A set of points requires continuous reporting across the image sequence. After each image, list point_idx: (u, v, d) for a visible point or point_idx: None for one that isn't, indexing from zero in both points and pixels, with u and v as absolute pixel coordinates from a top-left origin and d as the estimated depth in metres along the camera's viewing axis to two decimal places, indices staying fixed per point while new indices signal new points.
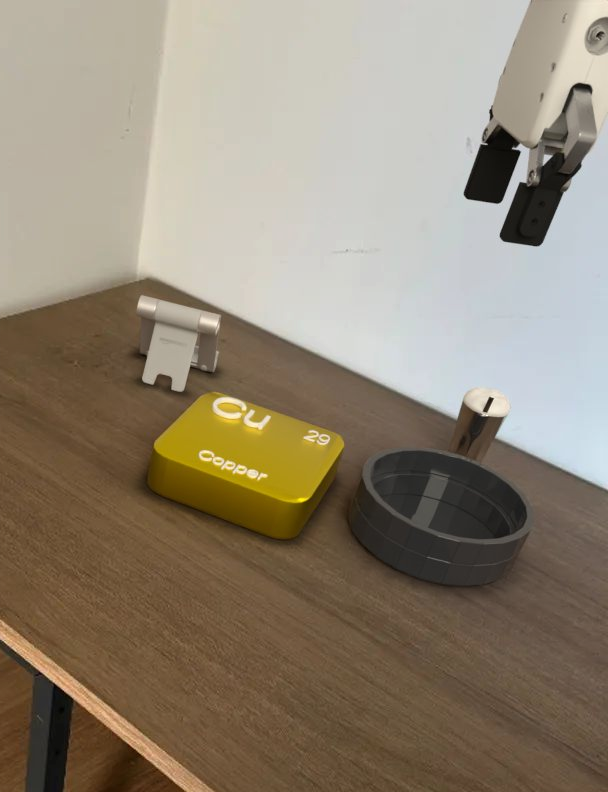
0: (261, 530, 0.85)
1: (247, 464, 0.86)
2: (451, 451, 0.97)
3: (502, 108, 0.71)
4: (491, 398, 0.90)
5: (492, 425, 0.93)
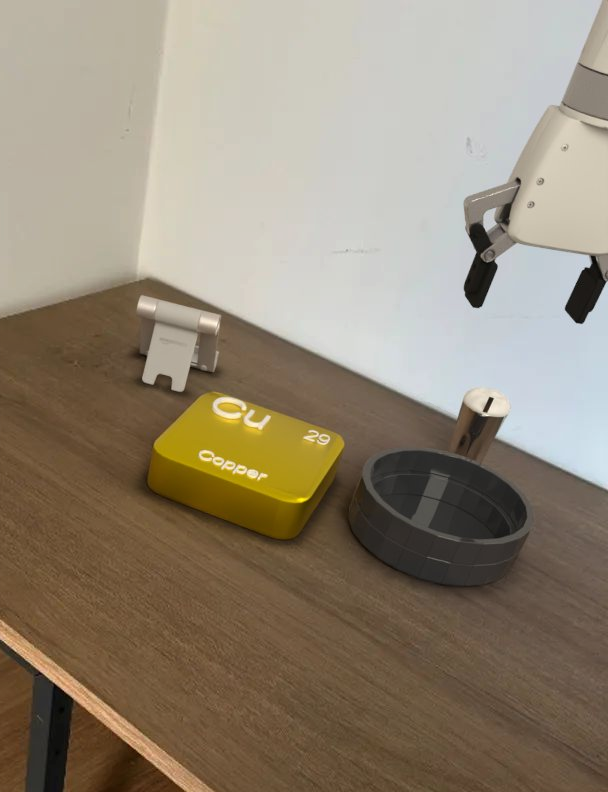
0: (261, 530, 0.85)
1: (247, 464, 0.86)
2: (451, 451, 0.97)
3: (545, 234, 0.80)
4: (491, 398, 0.90)
5: (492, 425, 0.93)
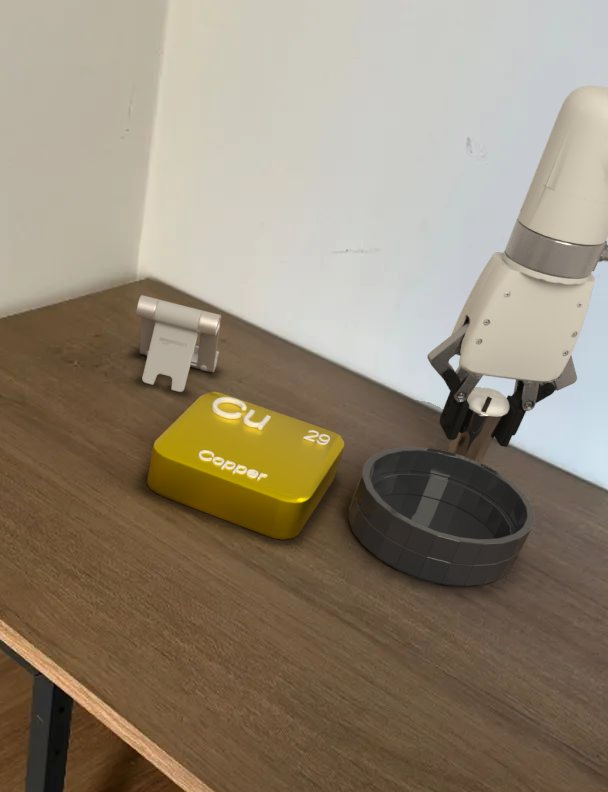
0: (261, 530, 0.85)
1: (247, 464, 0.86)
2: (451, 451, 0.97)
3: (493, 365, 0.88)
4: (489, 398, 0.90)
5: (491, 425, 0.93)
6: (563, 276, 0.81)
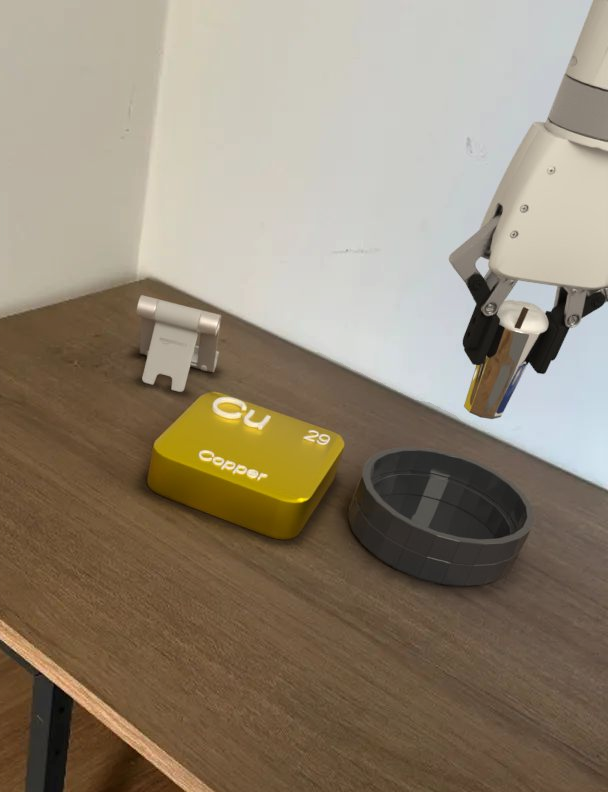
0: (261, 530, 0.85)
1: (247, 464, 0.86)
2: (475, 381, 0.80)
3: (531, 267, 0.71)
4: (525, 309, 0.73)
5: (526, 345, 0.76)
6: None
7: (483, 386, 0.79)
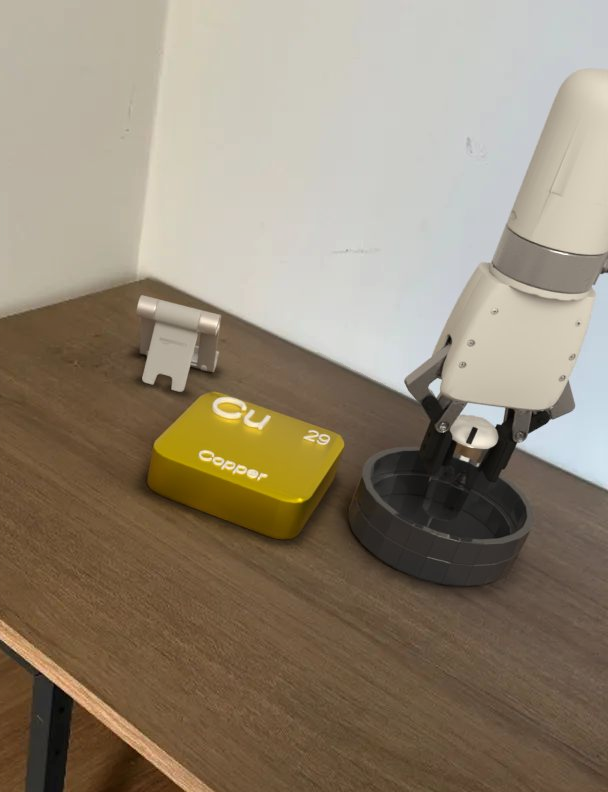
0: (261, 530, 0.85)
1: (247, 464, 0.86)
2: (432, 486, 0.85)
3: (479, 392, 0.77)
4: (475, 428, 0.79)
5: (477, 458, 0.81)
6: (559, 291, 0.70)
7: (439, 492, 0.85)
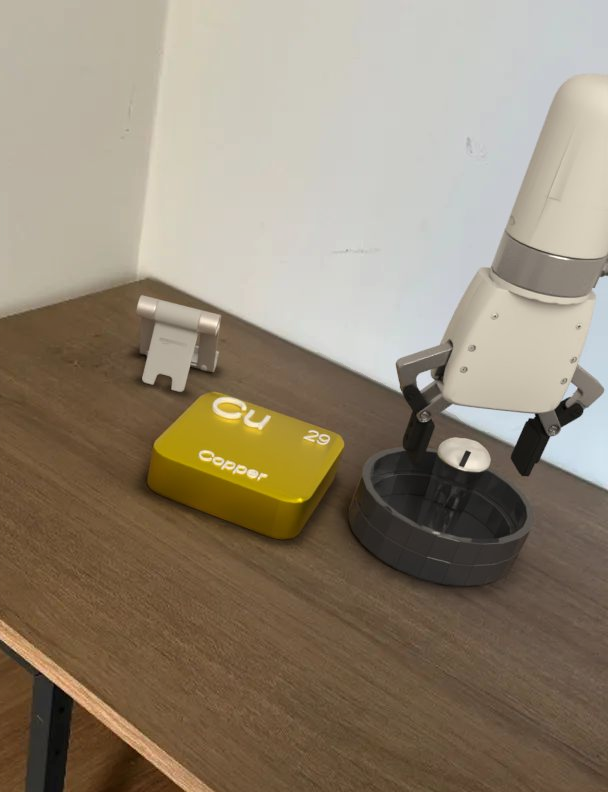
0: (261, 530, 0.85)
1: (247, 464, 0.86)
2: (425, 507, 0.87)
3: (481, 396, 0.77)
4: (468, 452, 0.80)
5: (470, 480, 0.83)
6: (559, 295, 0.70)
7: (432, 513, 0.86)
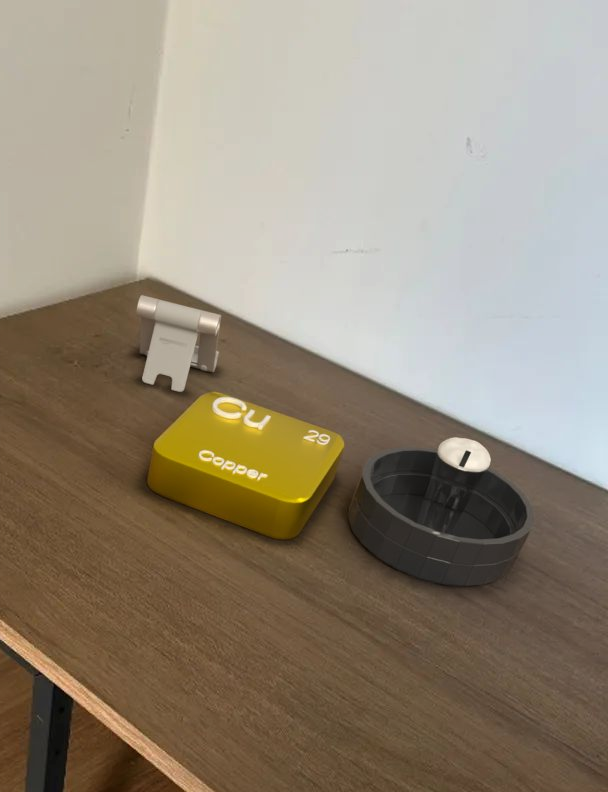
0: (261, 530, 0.85)
1: (247, 464, 0.86)
2: (425, 507, 0.87)
3: None
4: (468, 452, 0.80)
5: (470, 480, 0.83)
6: None
7: (432, 513, 0.86)
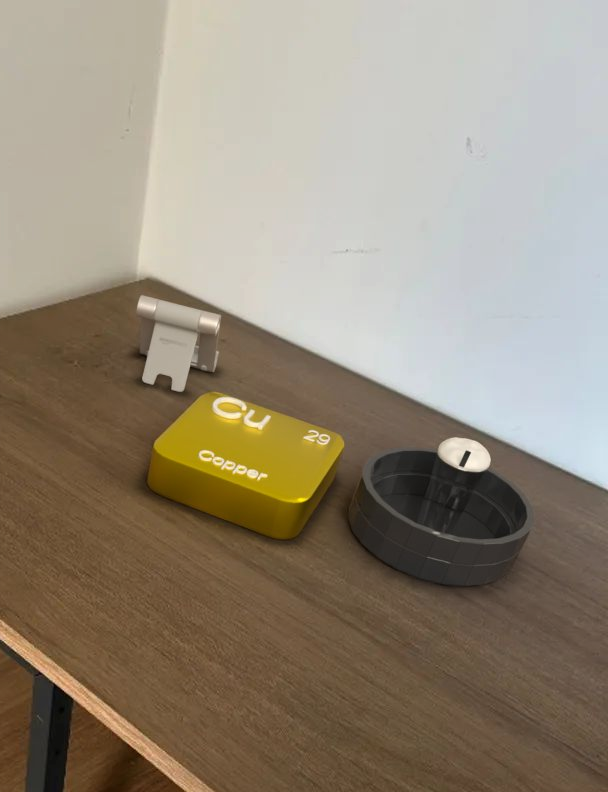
0: (261, 530, 0.85)
1: (247, 464, 0.86)
2: (425, 507, 0.87)
3: None
4: (468, 452, 0.80)
5: (470, 480, 0.83)
6: None
7: (432, 513, 0.86)
